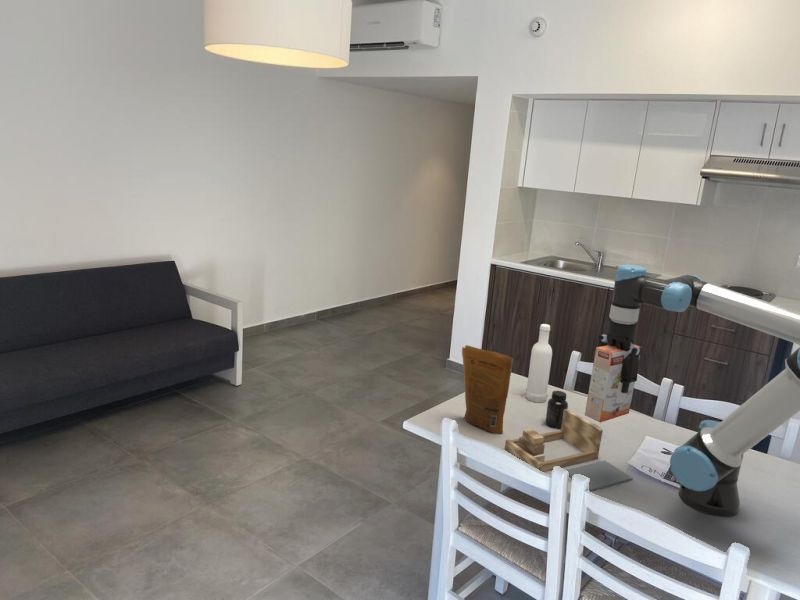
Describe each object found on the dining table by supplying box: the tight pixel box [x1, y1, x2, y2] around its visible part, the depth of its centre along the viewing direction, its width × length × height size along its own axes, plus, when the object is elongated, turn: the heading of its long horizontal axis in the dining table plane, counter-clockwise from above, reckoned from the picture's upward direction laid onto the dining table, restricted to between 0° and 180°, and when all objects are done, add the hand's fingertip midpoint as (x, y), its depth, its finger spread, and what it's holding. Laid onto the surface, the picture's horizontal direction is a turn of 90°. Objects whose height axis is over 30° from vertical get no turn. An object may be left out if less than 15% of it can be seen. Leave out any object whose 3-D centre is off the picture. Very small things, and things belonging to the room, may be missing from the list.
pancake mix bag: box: [461, 344, 514, 435], centre depth 201 cm, size 7×19×28 cm, turn 46°
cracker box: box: [584, 344, 642, 424], centre depth 170 cm, size 14×6×21 cm, turn 126°
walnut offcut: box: [518, 436, 546, 456], centre depth 184 cm, size 7×4×3 cm, turn 32°
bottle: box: [525, 323, 553, 404], centre depth 228 cm, size 8×8×30 cm
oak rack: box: [504, 409, 603, 473], centre depth 187 cm, size 16×24×10 cm, turn 118°
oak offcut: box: [521, 428, 544, 446], centre depth 183 cm, size 6×4×2 cm, turn 22°
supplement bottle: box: [545, 390, 569, 430], centre depth 208 cm, size 7×7×12 cm
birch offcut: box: [526, 451, 546, 462], centre depth 184 cm, size 8×4×3 cm, turn 27°
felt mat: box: [566, 460, 634, 492], centre depth 177 cm, size 11×17×1 cm, turn 118°
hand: (610, 397), depth 171 cm, fingers closed on cracker box, 6 cm apart
